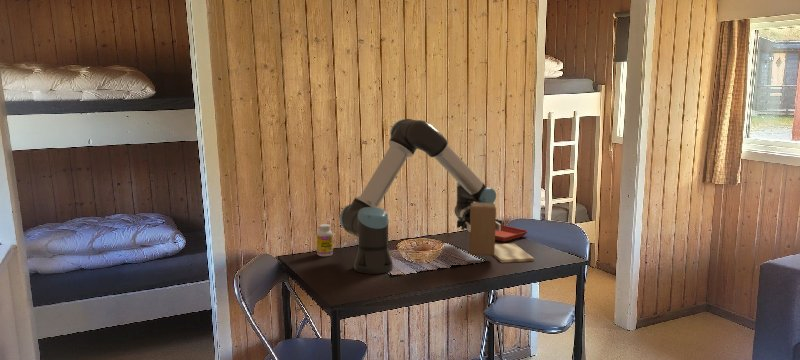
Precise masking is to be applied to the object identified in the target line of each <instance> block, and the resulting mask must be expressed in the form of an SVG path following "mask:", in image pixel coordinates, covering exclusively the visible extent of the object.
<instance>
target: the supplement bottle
mask: <svg viewBox="0 0 800 360" xmlns="http://www.w3.org/2000/svg"><path fill="white" fill-rule="evenodd" d="M318 229H319V230H318V231H317V232H316V254H317V255H318V256H319V257H331V256H332V255H333V253H334V249H333V248H334V245H333V241H334V240H333V239H334V237H333V235H334V234H333V231H332V230H331V224H328V223H322V224H319V225H318Z"/></svg>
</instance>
